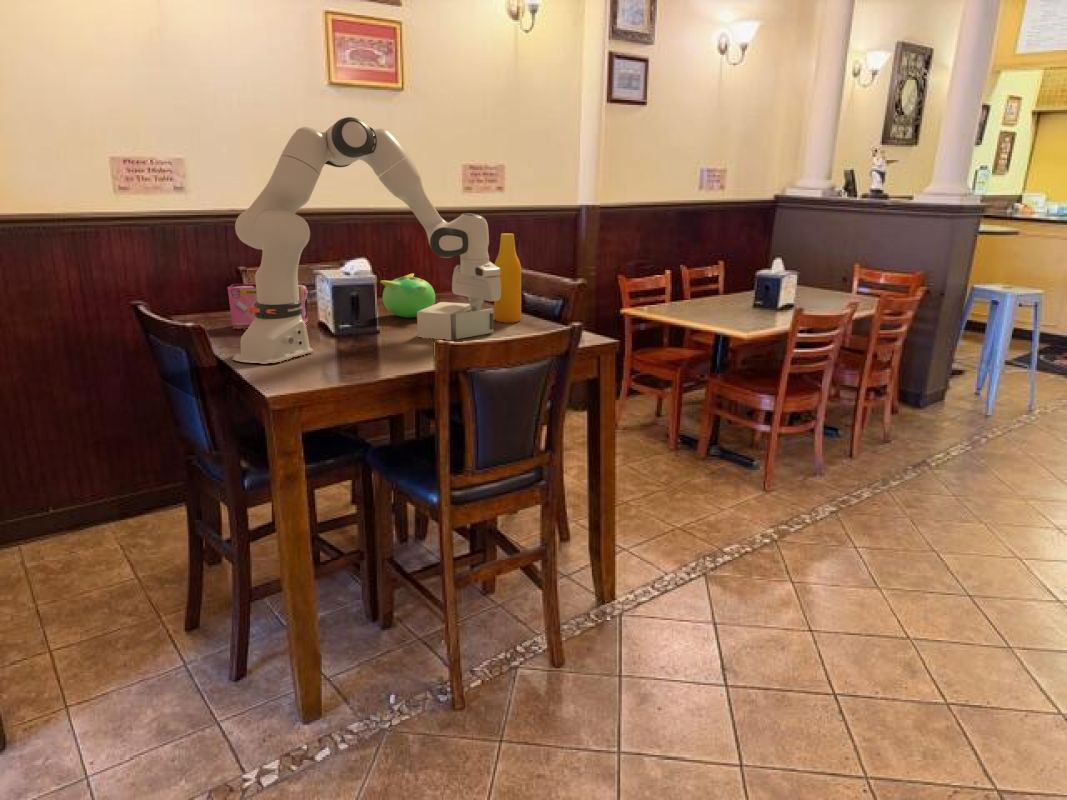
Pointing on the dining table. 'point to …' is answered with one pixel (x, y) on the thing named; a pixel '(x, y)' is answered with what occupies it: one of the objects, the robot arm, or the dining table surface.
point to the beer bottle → (508, 282)
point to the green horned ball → (407, 295)
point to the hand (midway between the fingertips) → (476, 311)
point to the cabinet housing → (439, 319)
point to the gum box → (254, 302)
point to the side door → (472, 323)
